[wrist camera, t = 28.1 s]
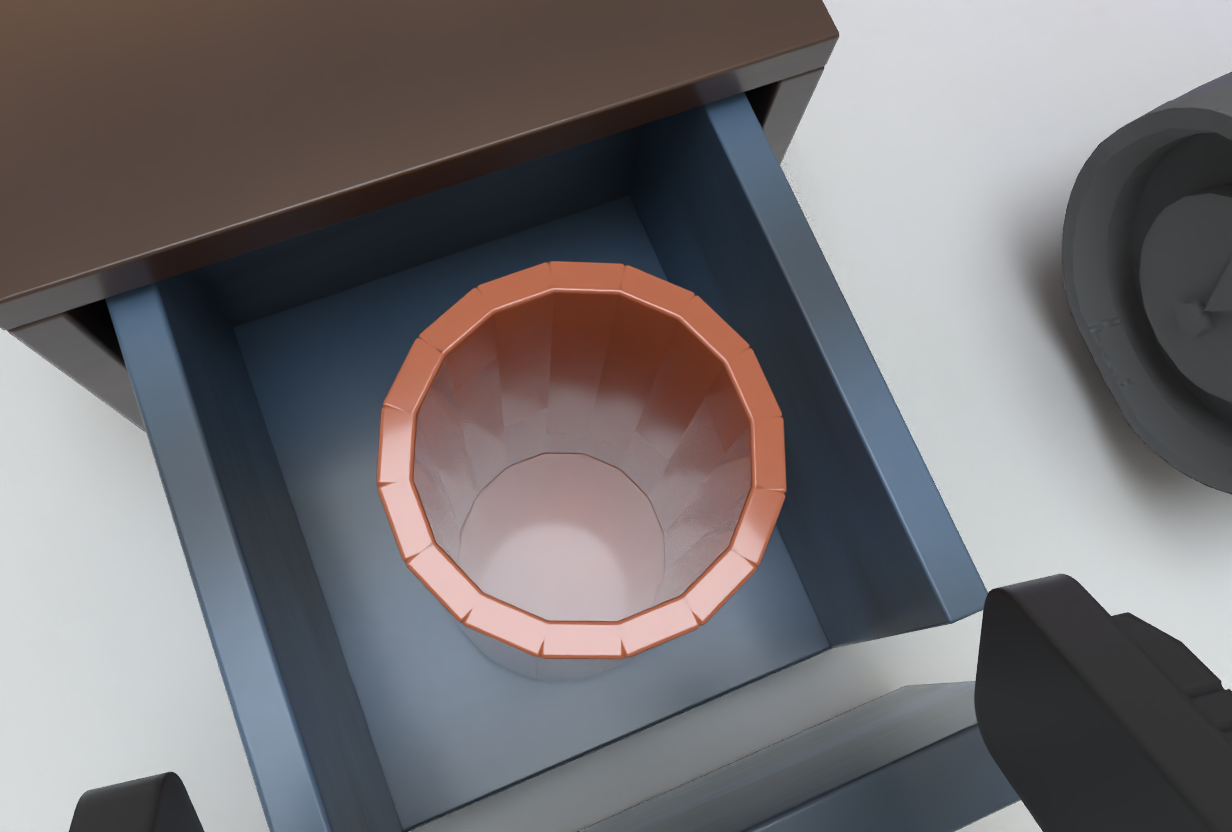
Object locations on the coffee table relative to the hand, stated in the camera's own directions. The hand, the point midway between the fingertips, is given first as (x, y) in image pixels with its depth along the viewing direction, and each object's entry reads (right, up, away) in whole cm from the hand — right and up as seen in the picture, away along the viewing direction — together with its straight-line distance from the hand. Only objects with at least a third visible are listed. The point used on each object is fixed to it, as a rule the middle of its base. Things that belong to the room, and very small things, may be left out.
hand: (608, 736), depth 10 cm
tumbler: (-1, 0, +12) cm, 12 cm away
